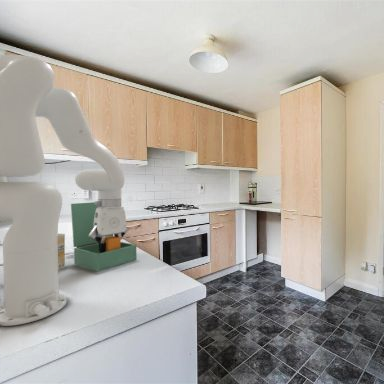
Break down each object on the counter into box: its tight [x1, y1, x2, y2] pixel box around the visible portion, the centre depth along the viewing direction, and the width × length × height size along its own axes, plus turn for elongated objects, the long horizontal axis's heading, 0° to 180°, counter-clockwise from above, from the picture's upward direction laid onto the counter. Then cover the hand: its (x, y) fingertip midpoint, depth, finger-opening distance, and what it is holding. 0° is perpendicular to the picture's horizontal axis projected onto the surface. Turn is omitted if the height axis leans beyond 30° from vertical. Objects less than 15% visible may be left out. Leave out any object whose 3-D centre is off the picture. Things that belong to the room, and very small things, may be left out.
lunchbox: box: [73, 241, 137, 272], centre depth 90 cm, size 16×15×7 cm
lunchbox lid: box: [70, 201, 114, 248], centre depth 94 cm, size 16×15×4 cm
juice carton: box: [99, 235, 120, 253], centre depth 88 cm, size 6×4×8 cm
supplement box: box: [58, 233, 66, 270], centre depth 80 cm, size 8×5×13 cm, turn 168°
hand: (109, 251), depth 88 cm, fingers closed on juice carton, 4 cm apart
